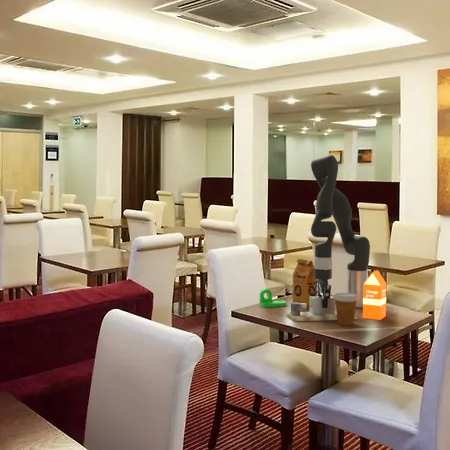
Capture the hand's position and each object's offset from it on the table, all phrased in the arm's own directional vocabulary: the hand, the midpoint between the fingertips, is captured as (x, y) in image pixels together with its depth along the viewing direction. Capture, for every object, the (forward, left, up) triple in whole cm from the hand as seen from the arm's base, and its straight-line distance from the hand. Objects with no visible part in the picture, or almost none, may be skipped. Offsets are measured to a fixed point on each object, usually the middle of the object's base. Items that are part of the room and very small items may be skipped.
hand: (322, 306), depth 250 cm
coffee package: (-2, -28, -5) cm, 28 cm away
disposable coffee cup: (-5, +13, -5) cm, 15 cm away
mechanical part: (+14, -29, -5) cm, 33 cm away
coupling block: (0, 0, -3) cm, 3 cm away
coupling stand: (0, 0, -5) cm, 5 cm away
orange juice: (-23, +2, -5) cm, 24 cm away
